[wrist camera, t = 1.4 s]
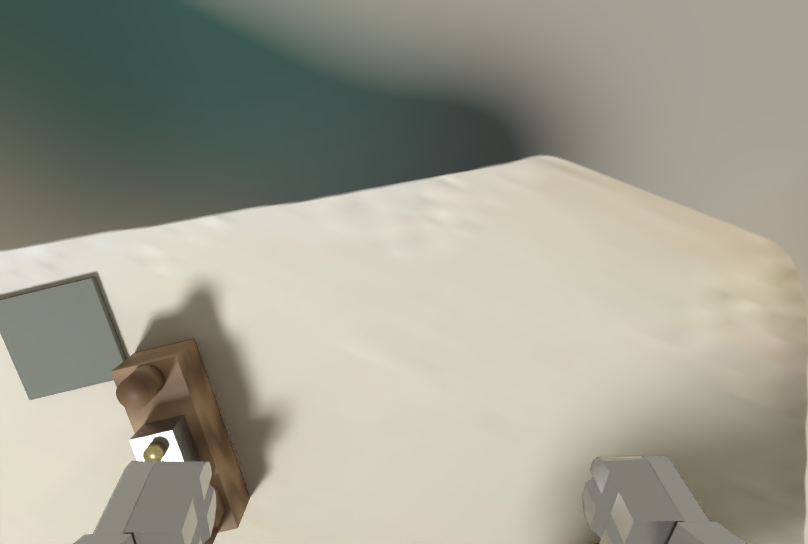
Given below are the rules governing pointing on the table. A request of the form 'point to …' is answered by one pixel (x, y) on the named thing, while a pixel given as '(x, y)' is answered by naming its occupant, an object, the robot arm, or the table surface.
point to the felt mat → (60, 338)
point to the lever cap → (165, 441)
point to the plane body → (193, 397)
